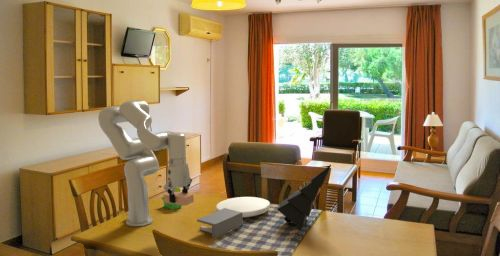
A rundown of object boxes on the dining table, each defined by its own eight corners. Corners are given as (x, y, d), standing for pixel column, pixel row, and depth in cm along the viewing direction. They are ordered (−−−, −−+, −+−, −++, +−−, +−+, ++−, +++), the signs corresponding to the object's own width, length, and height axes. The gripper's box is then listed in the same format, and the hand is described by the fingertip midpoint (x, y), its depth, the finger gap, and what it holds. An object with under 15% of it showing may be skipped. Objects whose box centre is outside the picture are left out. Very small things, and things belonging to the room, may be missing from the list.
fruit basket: (161, 206, 232) (160, 186, 230) (174, 202, 238) (174, 183, 236) (172, 211, 223) (171, 190, 222) (186, 207, 229) (185, 187, 228)
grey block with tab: (194, 232, 194) (193, 218, 193) (221, 220, 209) (221, 207, 208) (215, 238, 186) (215, 224, 185) (242, 225, 201) (242, 212, 200)
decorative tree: (297, 236, 196) (343, 178, 186) (271, 216, 198) (315, 158, 188) (302, 224, 210) (345, 170, 200) (278, 206, 212) (319, 151, 202)
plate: (210, 211, 208) (219, 195, 234) (212, 224, 209) (221, 207, 235) (267, 206, 205) (270, 191, 231) (269, 219, 206) (271, 202, 232)
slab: (163, 202, 191) (163, 194, 190) (171, 198, 196) (171, 191, 195) (185, 205, 185) (185, 198, 185) (193, 201, 191) (193, 194, 190)
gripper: (167, 166, 179) (169, 207, 181) (197, 159, 192) (198, 197, 195) (156, 163, 184) (158, 203, 186) (186, 157, 197) (187, 194, 200)
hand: (178, 200), depth 190 cm, fingers closed on slab, 6 cm apart
